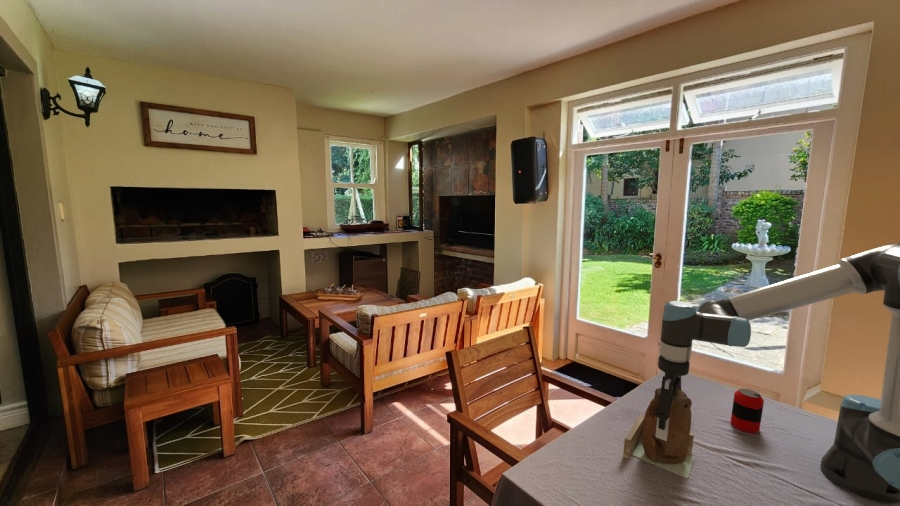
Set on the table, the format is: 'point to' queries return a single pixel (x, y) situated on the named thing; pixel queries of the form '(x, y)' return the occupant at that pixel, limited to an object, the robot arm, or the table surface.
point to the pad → (678, 468)
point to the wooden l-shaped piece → (637, 433)
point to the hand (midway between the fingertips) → (666, 427)
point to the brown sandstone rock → (677, 430)
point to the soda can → (747, 410)
